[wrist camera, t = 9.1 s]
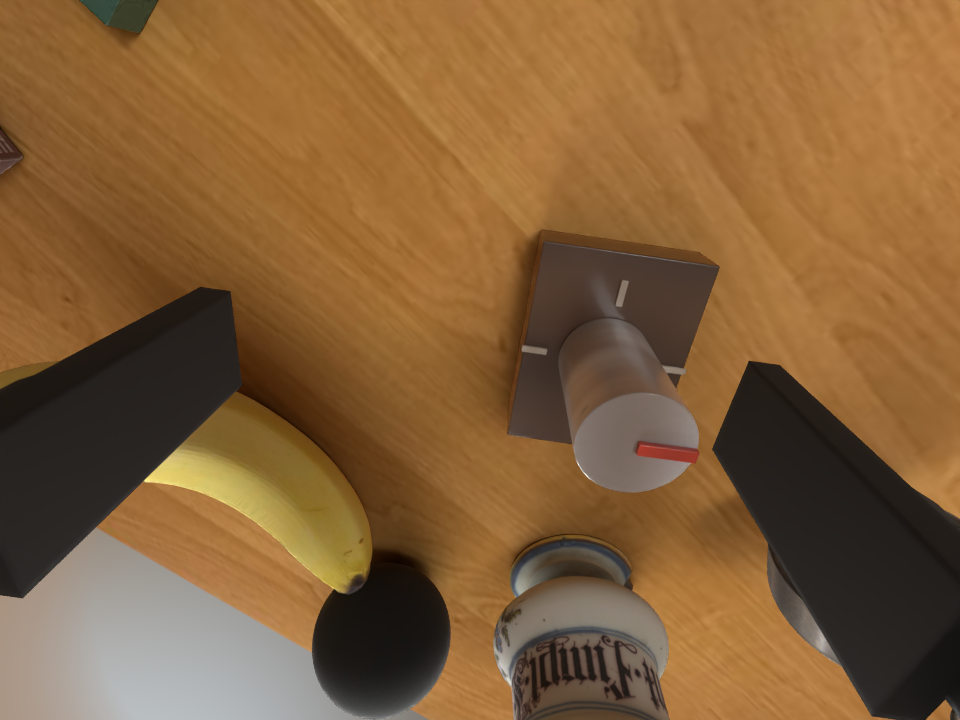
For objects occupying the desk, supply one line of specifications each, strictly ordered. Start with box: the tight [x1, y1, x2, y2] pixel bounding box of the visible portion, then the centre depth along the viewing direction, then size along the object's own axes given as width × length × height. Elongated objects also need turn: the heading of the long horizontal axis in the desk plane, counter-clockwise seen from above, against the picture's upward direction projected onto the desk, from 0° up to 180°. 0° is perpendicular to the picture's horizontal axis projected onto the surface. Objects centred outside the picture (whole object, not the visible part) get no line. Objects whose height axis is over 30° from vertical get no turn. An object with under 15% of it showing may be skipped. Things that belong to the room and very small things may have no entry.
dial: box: [558, 318, 699, 493], centre depth 23 cm, size 5×5×8 cm
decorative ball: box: [312, 563, 451, 720], centre depth 36 cm, size 10×10×10 cm
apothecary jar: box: [493, 535, 670, 720], centre depth 31 cm, size 12×12×18 cm
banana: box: [0, 361, 372, 595], centre depth 25 cm, size 23×6×20 cm, turn 44°
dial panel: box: [507, 230, 720, 444], centre depth 28 cm, size 12×9×3 cm
